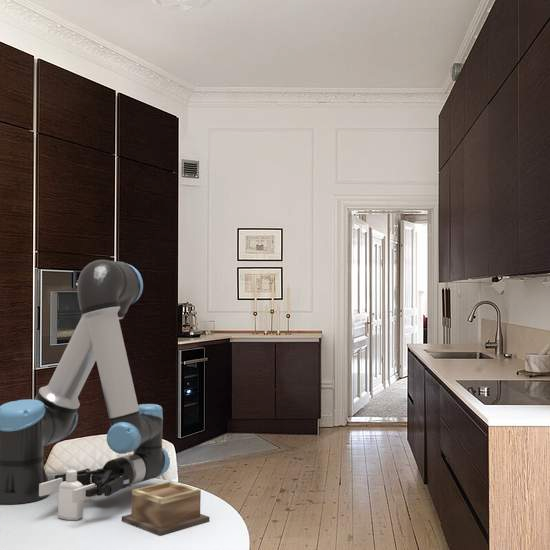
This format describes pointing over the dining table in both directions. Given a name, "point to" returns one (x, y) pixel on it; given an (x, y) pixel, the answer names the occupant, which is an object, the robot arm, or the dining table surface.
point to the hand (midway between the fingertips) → (56, 493)
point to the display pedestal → (165, 508)
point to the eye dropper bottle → (69, 497)
